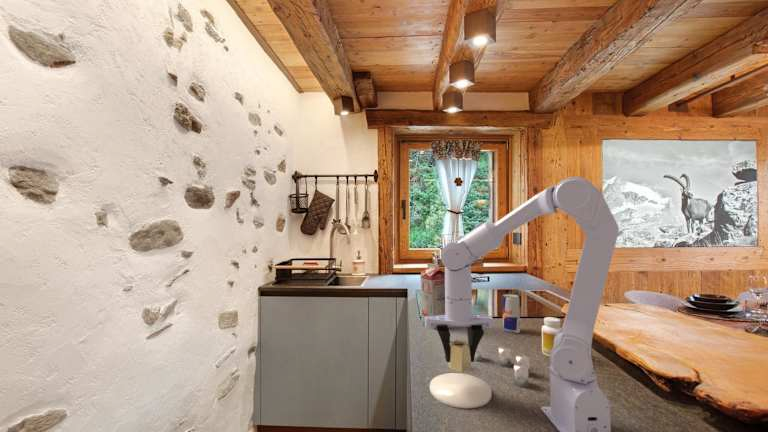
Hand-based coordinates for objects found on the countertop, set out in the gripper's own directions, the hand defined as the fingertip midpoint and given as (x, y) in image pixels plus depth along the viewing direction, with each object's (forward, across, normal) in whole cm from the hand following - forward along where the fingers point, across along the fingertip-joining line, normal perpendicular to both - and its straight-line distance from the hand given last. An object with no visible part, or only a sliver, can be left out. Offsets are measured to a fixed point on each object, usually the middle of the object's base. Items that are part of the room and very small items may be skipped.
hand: (459, 360), depth 68 cm
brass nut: (+1, 0, 0) cm, 1 cm away
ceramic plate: (+7, 0, 0) cm, 7 cm away
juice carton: (+7, -1, -45) cm, 46 cm away
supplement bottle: (+7, -30, -19) cm, 36 cm away
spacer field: (+7, -9, -10) cm, 15 cm away
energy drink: (+7, -26, -38) cm, 47 cm away
